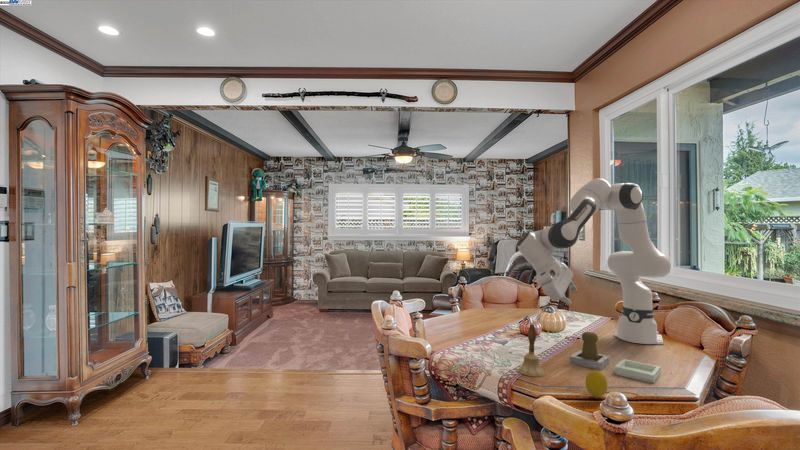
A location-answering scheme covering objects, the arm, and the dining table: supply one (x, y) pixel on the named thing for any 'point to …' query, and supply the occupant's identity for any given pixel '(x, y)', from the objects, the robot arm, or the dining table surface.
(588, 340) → the cork
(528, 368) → the hand bell
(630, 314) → the robot arm
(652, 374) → the sage tray
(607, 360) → the grey square frame
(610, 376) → the dining table surface
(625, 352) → the dining table surface
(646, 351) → the dining table surface
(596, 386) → the lemon
